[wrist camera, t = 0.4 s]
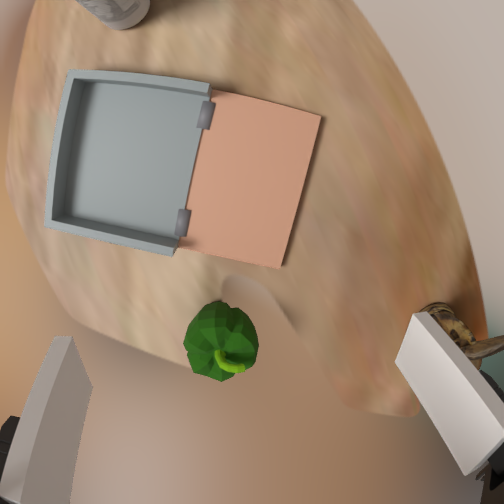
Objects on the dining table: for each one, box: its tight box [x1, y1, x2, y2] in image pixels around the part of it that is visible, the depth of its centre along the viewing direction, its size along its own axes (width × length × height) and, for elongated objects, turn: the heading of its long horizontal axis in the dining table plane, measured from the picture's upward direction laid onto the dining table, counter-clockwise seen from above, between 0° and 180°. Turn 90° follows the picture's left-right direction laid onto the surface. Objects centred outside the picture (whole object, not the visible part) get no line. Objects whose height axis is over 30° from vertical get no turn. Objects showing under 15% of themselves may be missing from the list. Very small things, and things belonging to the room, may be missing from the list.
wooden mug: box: [419, 303, 504, 370], centre depth 34 cm, size 9×14×18 cm, turn 15°
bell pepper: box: [183, 301, 259, 382], centre depth 36 cm, size 8×8×10 cm
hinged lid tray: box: [44, 69, 321, 269], centre depth 32 cm, size 18×28×4 cm, turn 76°
